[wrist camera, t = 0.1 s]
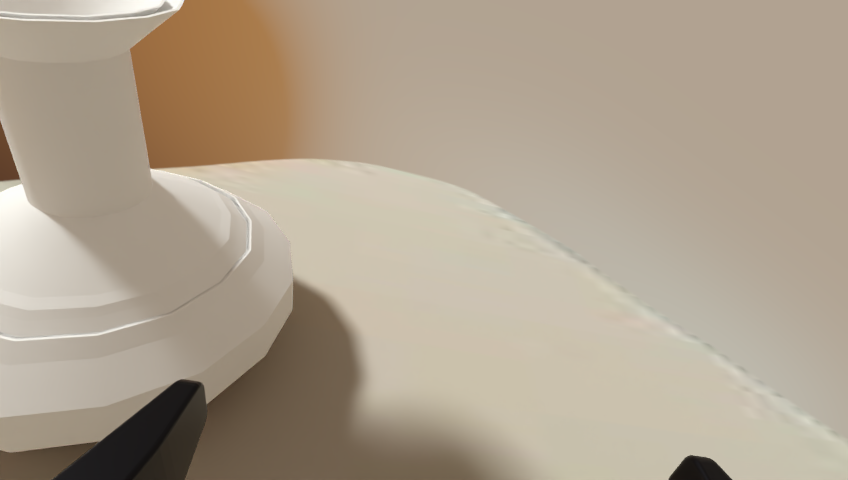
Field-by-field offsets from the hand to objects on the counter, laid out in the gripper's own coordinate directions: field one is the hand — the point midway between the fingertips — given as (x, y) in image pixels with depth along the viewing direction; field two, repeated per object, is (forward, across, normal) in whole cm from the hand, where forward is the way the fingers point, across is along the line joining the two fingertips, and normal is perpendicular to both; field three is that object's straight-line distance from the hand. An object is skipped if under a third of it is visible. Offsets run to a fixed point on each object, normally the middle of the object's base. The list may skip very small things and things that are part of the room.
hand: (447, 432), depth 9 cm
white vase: (+16, +17, +17) cm, 29 cm away
